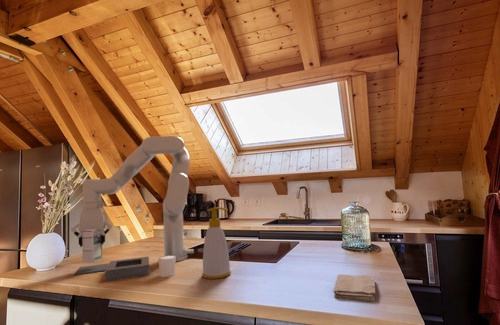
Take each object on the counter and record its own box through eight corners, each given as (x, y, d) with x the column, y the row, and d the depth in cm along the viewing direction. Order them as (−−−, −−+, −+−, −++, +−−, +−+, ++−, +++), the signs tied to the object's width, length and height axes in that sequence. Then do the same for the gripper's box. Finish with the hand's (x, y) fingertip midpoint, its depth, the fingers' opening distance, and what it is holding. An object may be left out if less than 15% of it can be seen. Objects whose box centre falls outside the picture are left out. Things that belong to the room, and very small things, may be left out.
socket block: (148, 265, 131) (148, 256, 132) (149, 274, 116) (148, 264, 117) (110, 270, 126) (110, 261, 126) (105, 281, 111) (105, 270, 111)
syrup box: (93, 262, 126) (93, 229, 127) (81, 262, 127) (81, 229, 128) (102, 259, 131) (102, 227, 133) (91, 259, 132) (91, 227, 134)
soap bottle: (224, 280, 105) (221, 208, 107) (196, 278, 109) (194, 209, 111) (236, 271, 115) (233, 206, 117) (210, 269, 119) (208, 206, 121)
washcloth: (333, 300, 84) (332, 289, 84) (337, 280, 101) (336, 271, 101) (377, 304, 80) (376, 292, 80) (373, 282, 96) (372, 273, 97)
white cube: (179, 272, 117) (179, 255, 118) (169, 278, 111) (169, 259, 111) (165, 272, 119) (165, 254, 120) (155, 277, 113) (154, 259, 114)
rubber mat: (108, 264, 137) (108, 263, 137) (105, 271, 125) (105, 269, 125) (80, 268, 132) (80, 266, 132) (73, 275, 121) (73, 273, 121)
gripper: (113, 204, 138) (114, 241, 136) (72, 207, 132) (72, 245, 130) (112, 205, 131) (112, 244, 129) (68, 207, 125) (67, 249, 123)
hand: (92, 244), depth 130 cm, fingers closed on syrup box, 7 cm apart
